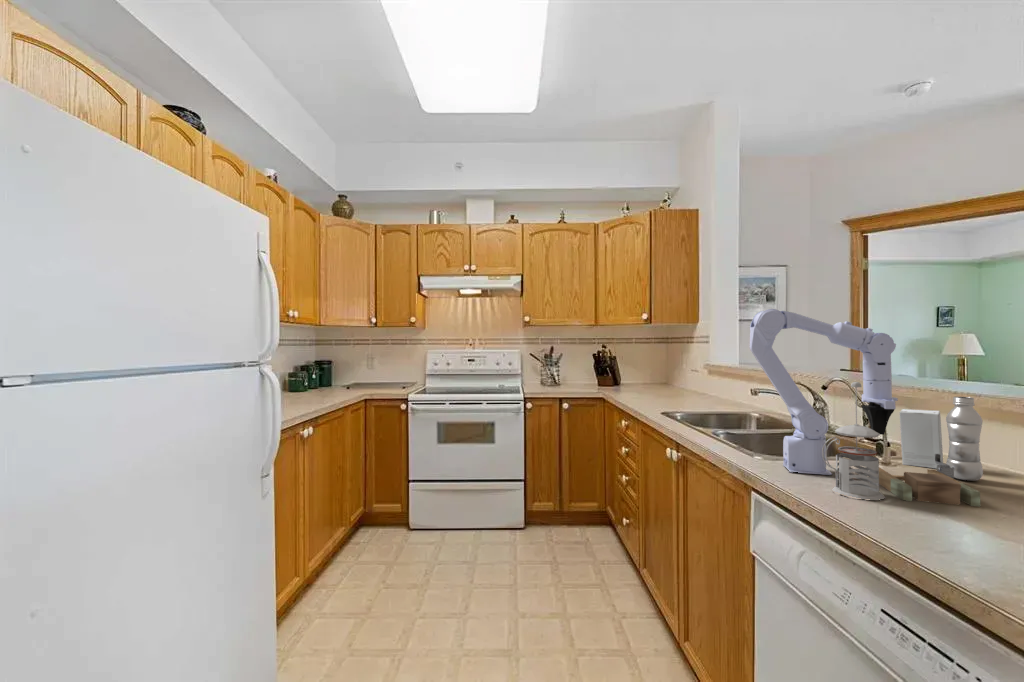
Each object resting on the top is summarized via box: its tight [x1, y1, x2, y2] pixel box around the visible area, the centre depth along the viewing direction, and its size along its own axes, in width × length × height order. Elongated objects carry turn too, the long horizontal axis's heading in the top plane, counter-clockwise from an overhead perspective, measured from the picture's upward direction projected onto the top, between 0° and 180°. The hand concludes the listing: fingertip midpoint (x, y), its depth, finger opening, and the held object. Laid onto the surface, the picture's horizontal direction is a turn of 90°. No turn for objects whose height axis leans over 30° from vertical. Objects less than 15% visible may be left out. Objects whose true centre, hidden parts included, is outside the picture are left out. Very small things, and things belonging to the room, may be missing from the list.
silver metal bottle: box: [945, 396, 984, 482], centre depth 114 cm, size 6×7×20 cm
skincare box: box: [899, 408, 944, 470], centre depth 128 cm, size 8×6×15 cm
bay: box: [879, 467, 981, 507], centre depth 107 cm, size 13×18×3 cm
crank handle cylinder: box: [935, 454, 955, 479], centre depth 112 cm, size 3×5×6 cm, turn 162°
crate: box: [903, 471, 961, 505], centre depth 102 cm, size 7×7×4 cm
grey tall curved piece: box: [822, 381, 886, 500], centre depth 105 cm, size 10×12×25 cm
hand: (878, 433), depth 119 cm, fingers closed
